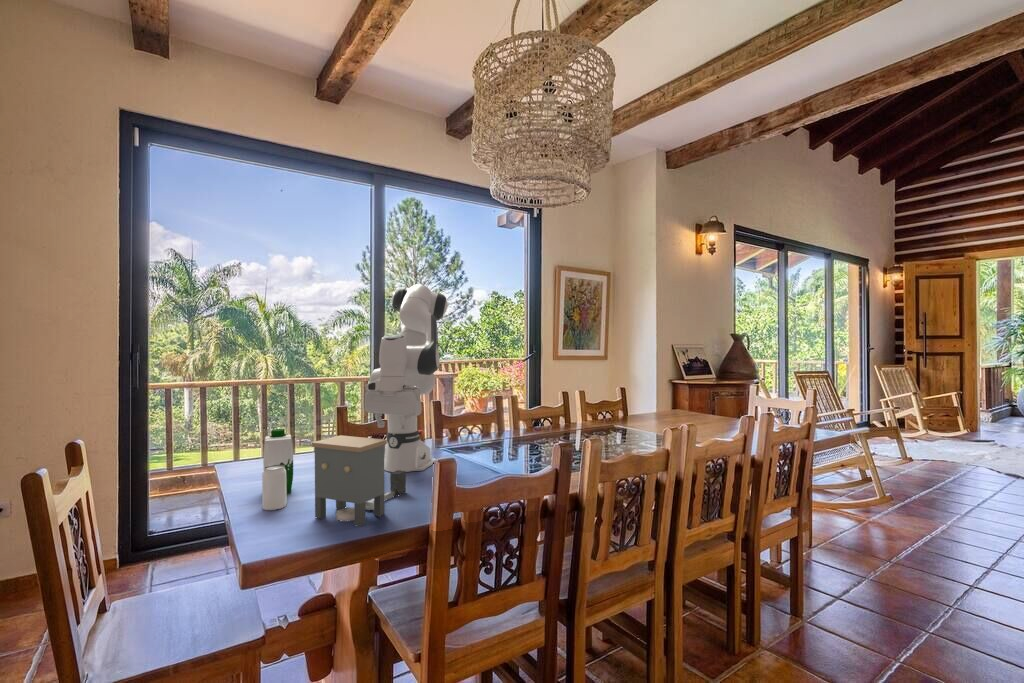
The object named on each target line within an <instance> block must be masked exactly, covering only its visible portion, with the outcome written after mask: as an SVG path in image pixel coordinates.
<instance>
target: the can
mask: <svg viewBox="0 0 1024 683" xmlns="http://www.w3.org/2000/svg"><path fill="white" fill-rule="evenodd" d="M284 467H285V466H284V465H271V466H267V467H264V466H263V471H262V475H261V476H262V478H261V482H262V485H261V486H262V490H261V491H262V492H261V493H262V495H261V496H262V509H263V510H264V509H265V511H267V510H273V511H277V510H276V509H279V510H281V509H280V508H282V509H284V508H286V506H287V505H288V504H287V502H288V501H287V500H288V499H287V495H288V494H287V487H286V470H285V468H284ZM283 507H284V508H283Z"/></svg>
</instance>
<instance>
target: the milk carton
mask: <svg viewBox="0 0 1024 683" xmlns="http://www.w3.org/2000/svg"><path fill="white" fill-rule="evenodd" d="M285 431H286V430H285V429H284V428H275V429H274V428H273V429H272V430H270V432H271V433H270V435H269V436H268V435H266V436H265V437H264V442H263V444H264V445H263V449H262V450H263V454H262V455H263V468H264V467H267V466H271V465H284V466H285V467H284V468H285V470H286V487H287V495H289V494H288V493H291V494H292V486H293V481H294V444H293V438H292V435H291V434H290V433H289V434H286V432H285Z"/></svg>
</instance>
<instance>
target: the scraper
mask: <svg viewBox="0 0 1024 683" xmlns="http://www.w3.org/2000/svg"><path fill="white" fill-rule="evenodd" d="M406 473H407V472H406V471H401V470H397V471H395V472H390V474H389V476H390V483H389V484H390V491H389V492H386V493H384V500H386V499H388V500H390V499H392V498H391V497H393V496H395V495H397V496H395V497H399V496H398V495H400V494H402V495H404V494H406V493H407V491H406V489H407V488H406V486H407V485H406V484H407V481H406V480H407V478H406V476H407V475H406ZM405 492H406V493H405ZM403 493H404V494H403ZM400 496H401V495H400ZM389 498H390V499H389ZM393 498H394V497H393ZM386 501H387V500H386ZM365 509H367V510H366V511H370V510H374V498H373V499H371V500H369V501H366V502H365Z"/></svg>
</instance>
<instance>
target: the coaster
mask: <svg viewBox="0 0 1024 683" xmlns="http://www.w3.org/2000/svg"><path fill="white" fill-rule="evenodd" d="M335 514H336V518H335V519H337V520H336V521H338V520H342V521H345V522H350V521H349V520H352V521H355V520H354V519H355V509H354V507H353V506H352V507H351V506H350V507H346V508H342V509H337V510H336V512H335ZM347 520H348V521H347ZM342 521H341V522H342Z"/></svg>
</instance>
